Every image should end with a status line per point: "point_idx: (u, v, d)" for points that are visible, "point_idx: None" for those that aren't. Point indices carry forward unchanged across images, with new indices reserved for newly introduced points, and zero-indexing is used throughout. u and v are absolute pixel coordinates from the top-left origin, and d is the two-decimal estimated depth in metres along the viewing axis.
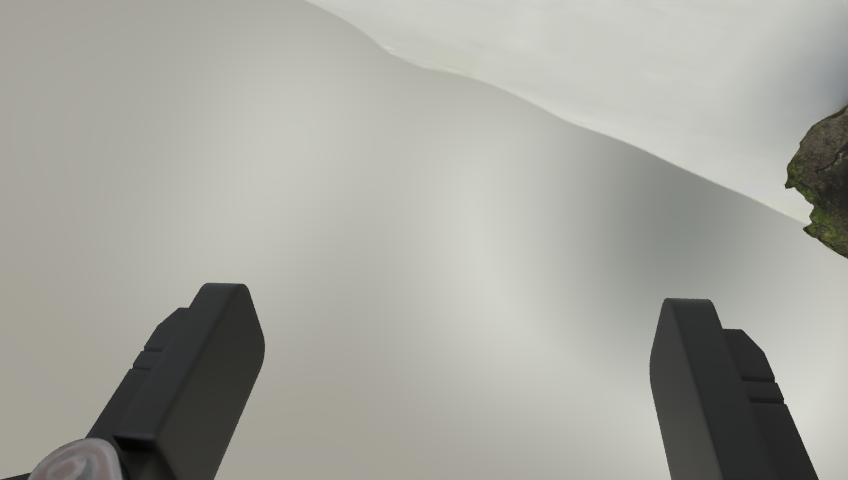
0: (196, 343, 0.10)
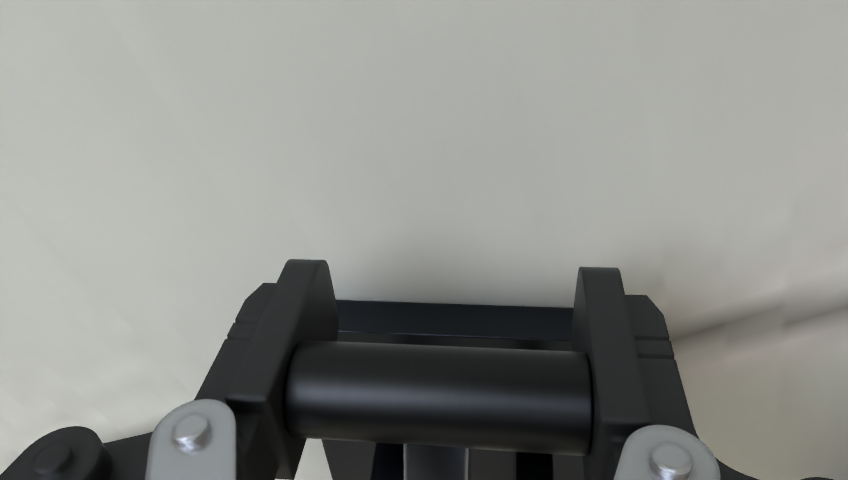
0: (290, 314, 0.11)
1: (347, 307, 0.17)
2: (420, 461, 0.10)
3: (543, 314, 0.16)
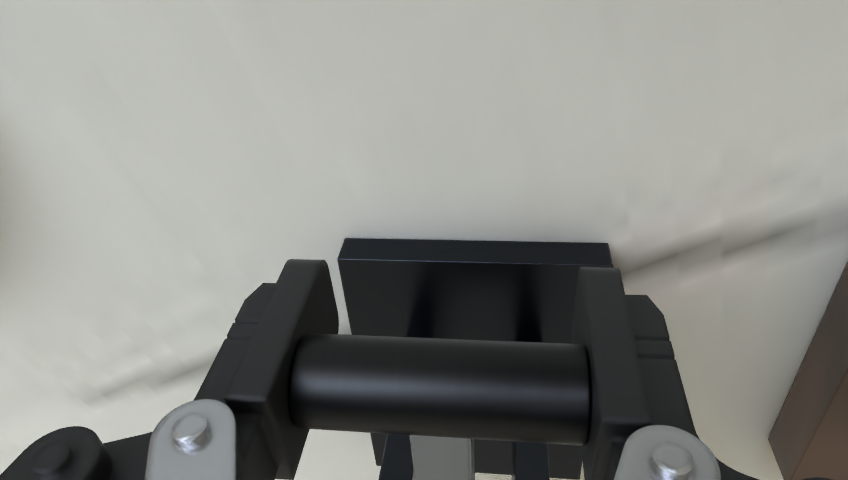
0: (290, 314, 0.11)
1: (381, 243, 0.21)
2: (425, 444, 0.11)
3: (536, 246, 0.20)
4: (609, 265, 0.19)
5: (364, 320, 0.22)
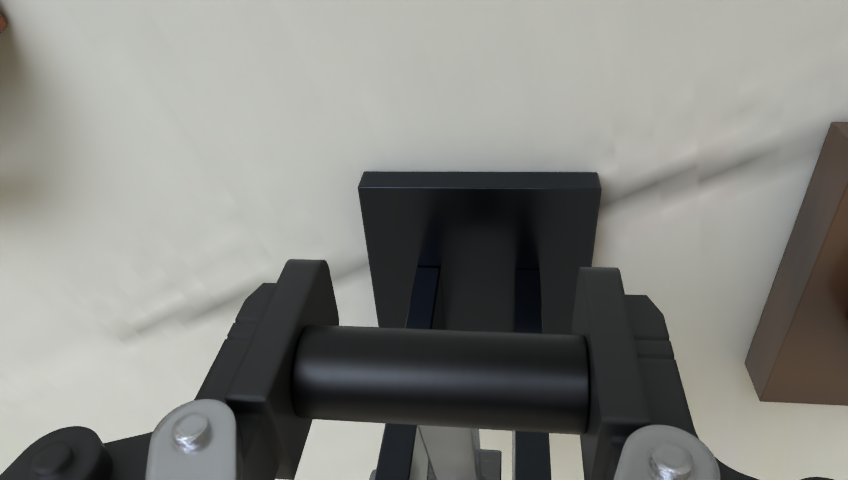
0: (290, 314, 0.11)
1: (396, 175, 0.24)
2: None
3: (533, 175, 0.23)
4: (598, 189, 0.22)
5: (380, 246, 0.25)
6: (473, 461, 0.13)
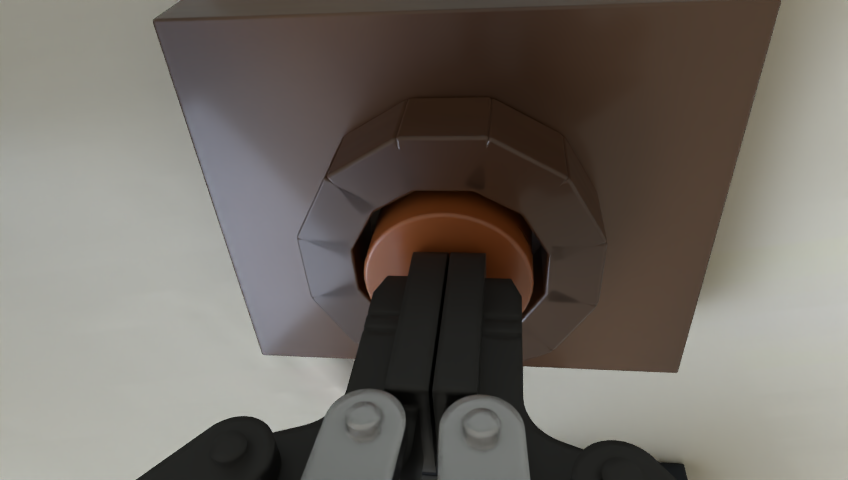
0: (430, 306, 0.11)
1: None
2: None
3: None
4: None
5: None
6: None
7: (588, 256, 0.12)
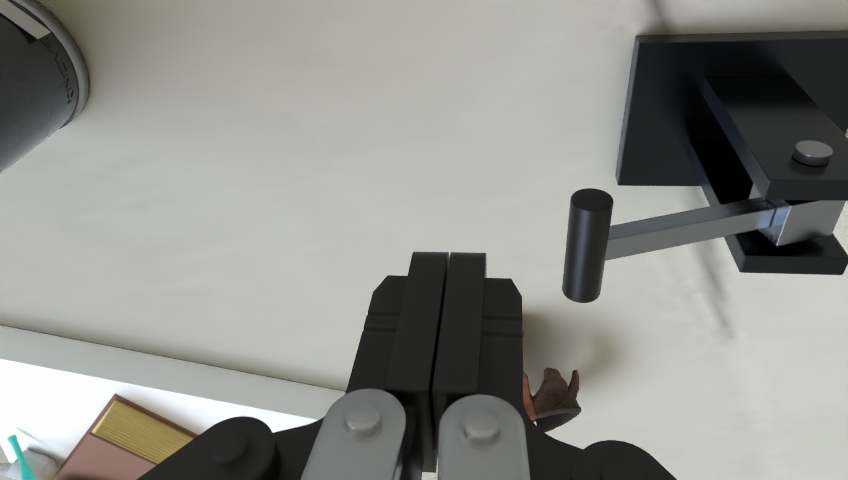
0: (430, 306, 0.11)
1: (618, 159, 0.38)
2: (611, 254, 0.26)
3: (630, 78, 0.35)
4: (639, 44, 0.33)
5: (666, 177, 0.37)
6: (670, 229, 0.26)
7: None
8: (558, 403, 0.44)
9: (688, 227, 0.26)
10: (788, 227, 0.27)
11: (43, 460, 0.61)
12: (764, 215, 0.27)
